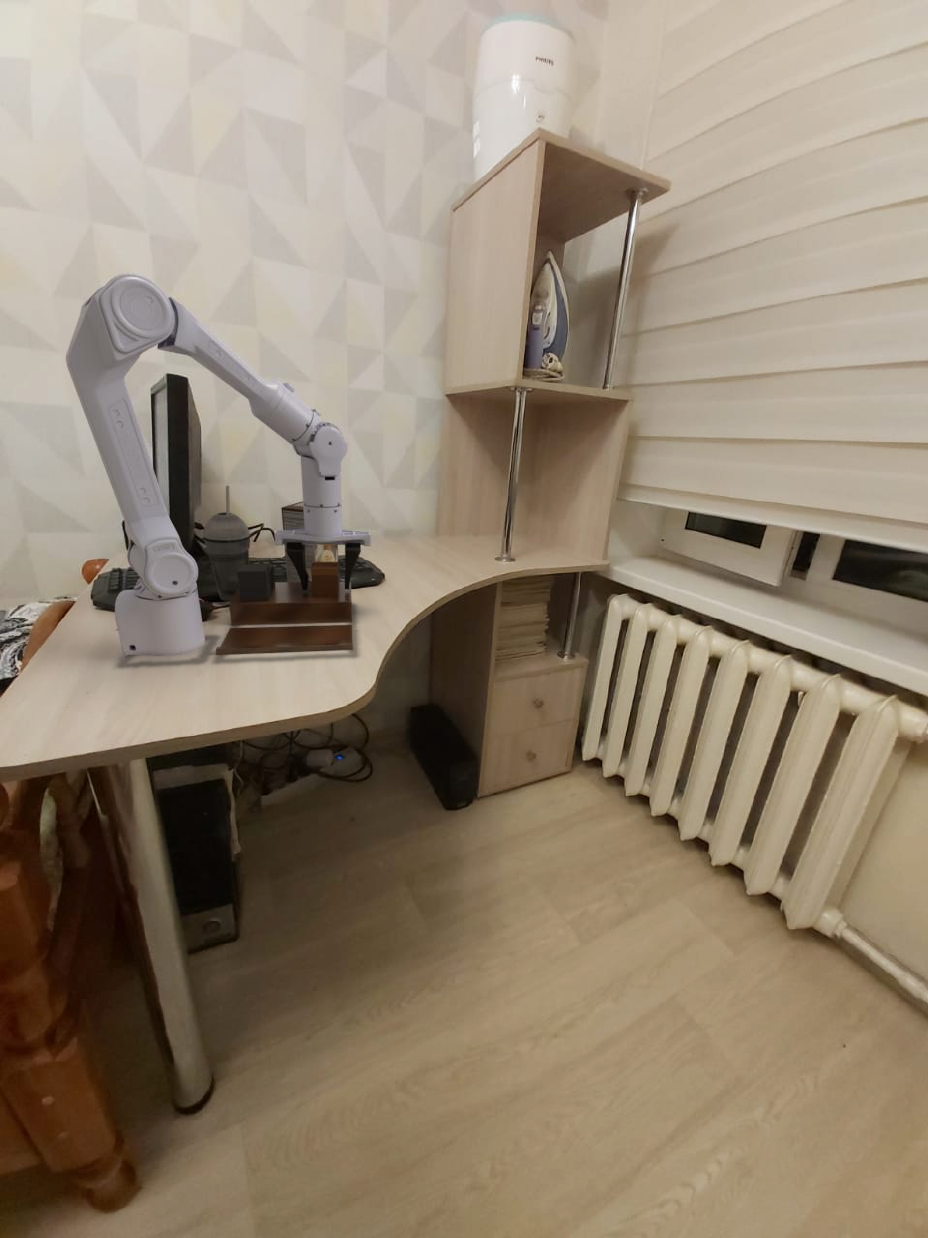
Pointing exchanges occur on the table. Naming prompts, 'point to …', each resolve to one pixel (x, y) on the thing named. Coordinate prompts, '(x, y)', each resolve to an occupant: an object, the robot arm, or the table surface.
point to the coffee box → (313, 553)
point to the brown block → (325, 579)
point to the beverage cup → (227, 549)
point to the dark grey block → (256, 582)
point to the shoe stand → (290, 622)
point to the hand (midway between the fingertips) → (326, 587)
